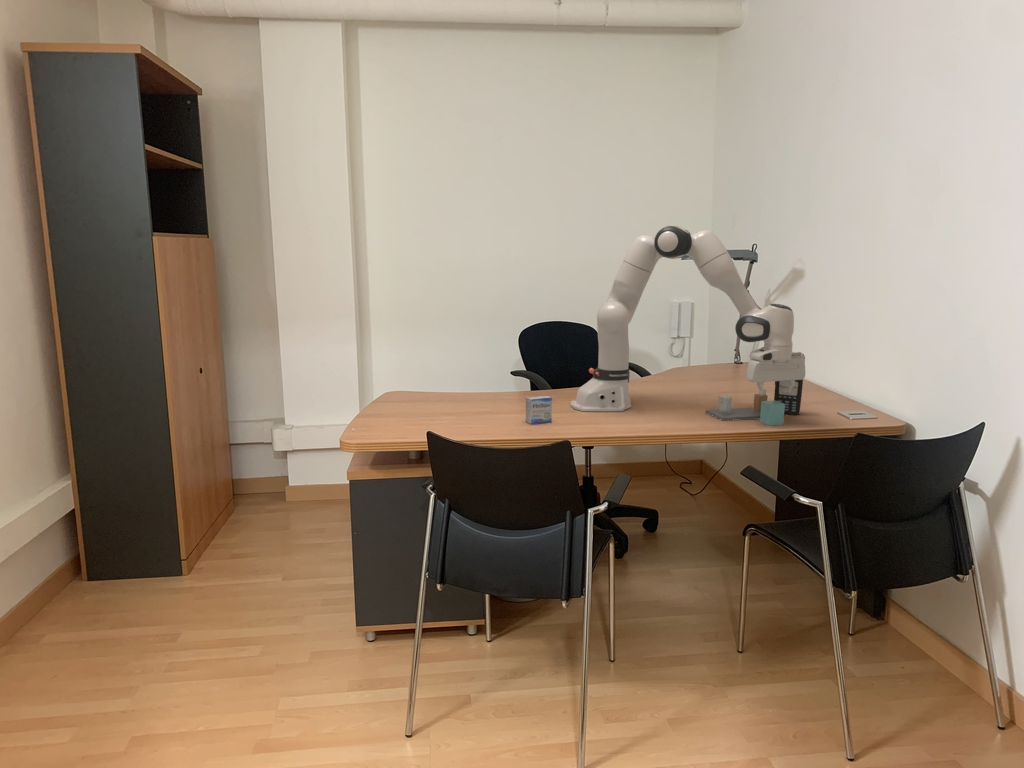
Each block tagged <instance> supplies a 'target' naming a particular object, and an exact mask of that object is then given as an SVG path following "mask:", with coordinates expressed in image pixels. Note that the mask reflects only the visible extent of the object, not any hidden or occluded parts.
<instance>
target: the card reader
mask: <svg viewBox="0 0 1024 768" xmlns="http://www.w3.org/2000/svg"><path fill="white" fill-rule="evenodd" d="M788 383H789V382H787V381H774V395H773V401H775V400H776V401H778V402H781V403H784V404H785V409H784V415H795V416H798V415H800V413H801V412H800V411H801V404H802V393H803V385H804V379H803V380H795V384H794V385H793V387H792V388H791V393H784V388H785V387H787V385H788Z"/></svg>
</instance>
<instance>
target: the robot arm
mask: <svg viewBox="0 0 1024 768" xmlns="http://www.w3.org/2000/svg"><path fill="white" fill-rule="evenodd" d="M628 248H629V249H628V250H627V251H626V253H625V256H624V258H623V260H622V261H621V265H620V267H619V268H618V271H617V273H616V276H615V278H614V280H613V283H612V287H611V290H610V292H609V295H608V297H607V300H606V302H605V303H603V305H601V306H600V307H599V309H598V311H597V314H596V326H597V327H596V329H597V330H596V331H597V341H598V359H597V361H598V362H597V363H598V364H597V367H596V368H595V369H594V367H593V368H592V367H590V368H589V369H588V372H589V373H590V374H591V375H592V378H590V380H588V381H587V382H586V383H584V384H583V385H581V386H580V387H579V388H578V389H577V392H576V393H577V394H576V398H575V400H570V404H569V405H570V407H571V408H573V409H575V410H577V411H581V412H624V411H625V410H626V409H629V408H631V407H632V402H631V398H630V390H629V383H630V368H629V361H630V343H629V324H630V323H631V322H632V319H633V317H634V314H635V312H636V310H637V308H638V306H639V303H640V300H641V298H642V294H643V293H644V290H645V288H646V286H647V284H648V282H649V279H650V278H651V275H652V273H653V272H654V269H655V268H656V267H655V266H656V264H657V263H658V261H659V260H660V259H662V258H666V259H670V260H676V259H682V258H684V257H686V256H687V257H689V258H691V260H692V261H693V263H694V264H695V265H696V267H697V269H698V271H699V272H700V274H701V276H702V277H703V279H704V280H705V281H706V282H707V284H709V286H711V287H713V288H716V289H718V290H719V291H722V292H723V293H725V294H726V295H727V296H728V297H729V299H730V300H731V303H732V305H734V307H735V308H736V310H737V311H738V314H740V318H739V319H738V320H737V321H736V323H735V328H734V329H735V334H736V336H737V337H738V338H739V339H740V340H741V341H742V342H746V343H757V342H761V341H762V342H764V344H763V345H764V346H762V347H760V348H758V349H755V350H753V351H750V352H749V357H750V360H749V361H748V364H747V369H746V379H747V381H748V382H751V383H756V386H757V388H758V391H759V392H758V394H760V395H767V389H765V388H764V385H765V383H767V382H769V383H771V382H775V381H787V382H789V383H788V385H787V387H785V388H784V393H791V388H792V387H793V385H794V384H795V380H803V381H804V379H805V378H806V364H805V363H806V355H804V353H802V352H801V351H798V352H794V351H793V340H792V339H793V335H794V331H795V330H794V329H795V328H794V327H795V319H794V318H795V317H794V316H795V315H794V311H793V309H792V308H791V307H789V306H788V305H784V304H780V303H770V304H768V305H767V306H766V307H764V308H761V307H760V306H759V305H758V304H757V303H756V300H755V299H754V298H753V297H752V295H751V293H750V292H749V290H748V289H747V288H746V285H745V284H744V283H743V281H742V279H741V276H740V274H739V272H738V270H737V268H736V265H735V262H734V261H733V259H732V257H731V255H730V253H729V252H728V249H727V248H726V247H725V245H724V243H723V242H722V241H721V240H720V239H719V237H718V236H717V235H716V234H715V233H714V232H713V231H711V230H709V229H703V230H699V231H698V232H696V233H693V234H692V233H690V232H689V230H687V229H685V228H684V227H681V226H677V225H667V226H664V227H662V228H661V229H659V231H657V232H656V235H655V237H654V236H651V235H647V234H643V235H642V234H641V235H638V236H637V237H636V238H635V239H634V240H633V242H632V244H631V245H630V247H628Z"/></svg>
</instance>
